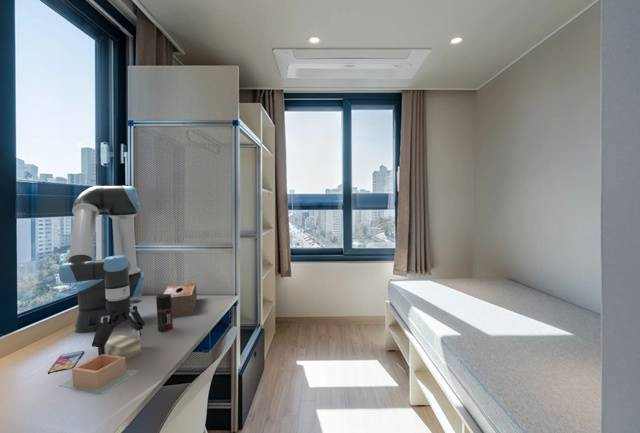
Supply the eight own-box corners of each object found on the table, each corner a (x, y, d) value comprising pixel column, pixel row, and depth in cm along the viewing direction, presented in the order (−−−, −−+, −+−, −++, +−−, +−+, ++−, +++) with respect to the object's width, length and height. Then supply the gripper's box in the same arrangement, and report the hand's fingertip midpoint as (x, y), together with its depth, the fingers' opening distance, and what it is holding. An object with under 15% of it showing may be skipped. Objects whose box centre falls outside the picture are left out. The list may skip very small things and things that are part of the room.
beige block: (102, 356, 120) (101, 342, 119) (121, 348, 126) (120, 334, 126) (122, 363, 114) (121, 347, 114) (141, 354, 120) (140, 340, 120)
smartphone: (84, 350, 124) (73, 367, 110) (85, 352, 124) (73, 370, 110) (61, 354, 121) (46, 373, 107) (61, 357, 121) (46, 375, 107)
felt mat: (58, 387, 100) (58, 385, 100) (98, 366, 112) (98, 364, 112) (103, 395, 95) (103, 393, 95) (139, 372, 107) (139, 371, 107)
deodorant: (167, 332, 140) (165, 298, 139) (154, 331, 141) (152, 297, 141) (175, 327, 146) (173, 294, 145) (164, 326, 147) (162, 293, 146)
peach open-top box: (72, 384, 100) (71, 369, 100) (102, 368, 110) (101, 354, 109) (97, 389, 97) (96, 372, 97) (126, 372, 107) (125, 357, 106)
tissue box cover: (169, 303, 183) (168, 285, 182) (196, 300, 187) (195, 283, 186) (161, 318, 158) (159, 298, 158) (192, 314, 162) (191, 295, 162)
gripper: (93, 309, 106) (97, 373, 107) (152, 289, 130) (155, 341, 131) (76, 308, 108) (80, 370, 109) (138, 288, 132) (141, 339, 133)
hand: (121, 354), depth 120 cm, fingers open, 13 cm apart
